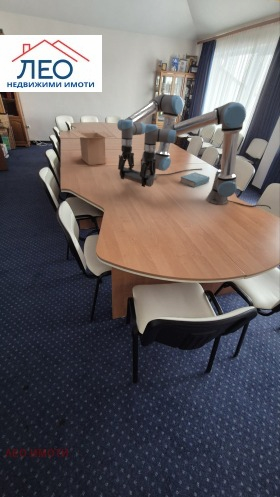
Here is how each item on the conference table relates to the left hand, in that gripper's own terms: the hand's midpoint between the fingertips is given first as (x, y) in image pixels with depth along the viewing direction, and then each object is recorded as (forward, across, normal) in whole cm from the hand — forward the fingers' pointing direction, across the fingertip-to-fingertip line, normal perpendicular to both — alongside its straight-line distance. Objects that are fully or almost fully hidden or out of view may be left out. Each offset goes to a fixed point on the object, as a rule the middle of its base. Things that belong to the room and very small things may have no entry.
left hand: (126, 177), depth 168 cm
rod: (+1, 0, -10) cm, 10 cm away
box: (+12, +37, +80) cm, 89 cm away
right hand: (0, 0, -20) cm, 20 cm away
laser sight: (+12, +76, +32) cm, 84 cm away
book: (+12, +63, -28) cm, 70 cm away
